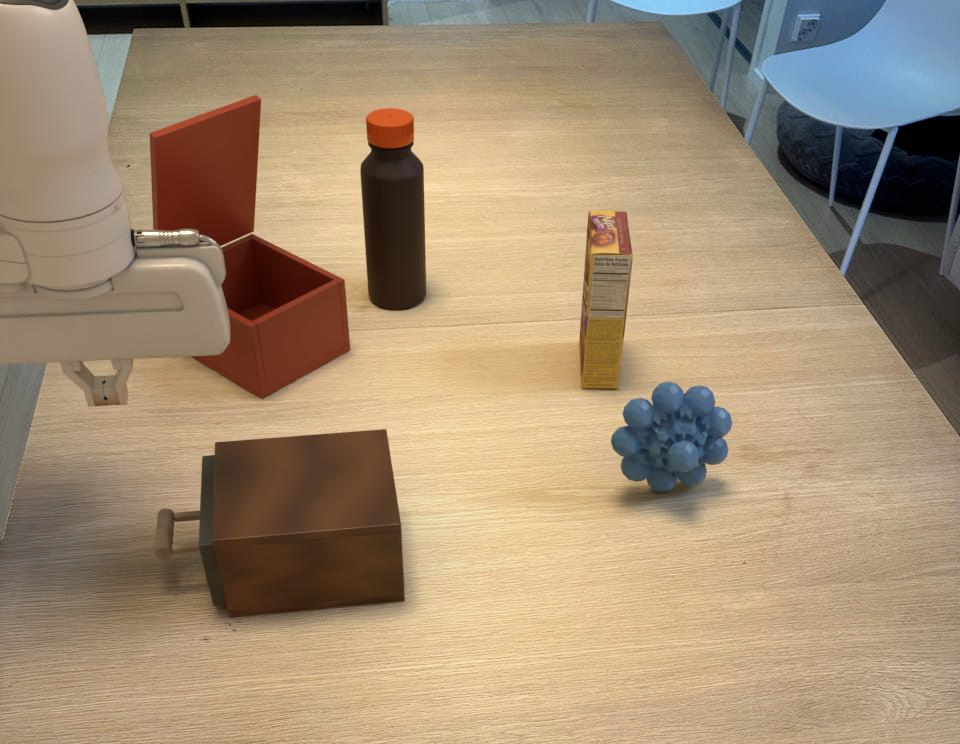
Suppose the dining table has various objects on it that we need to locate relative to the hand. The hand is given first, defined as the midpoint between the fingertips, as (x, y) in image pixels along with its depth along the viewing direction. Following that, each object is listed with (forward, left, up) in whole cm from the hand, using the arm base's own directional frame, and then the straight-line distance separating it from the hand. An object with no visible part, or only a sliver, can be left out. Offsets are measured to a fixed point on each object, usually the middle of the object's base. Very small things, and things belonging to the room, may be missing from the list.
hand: (108, 401), depth 83 cm
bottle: (-14, +45, -15) cm, 50 cm away
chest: (-17, +27, -15) cm, 35 cm away
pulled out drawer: (+10, +5, -14) cm, 18 cm away
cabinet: (+12, +8, -15) cm, 21 cm away
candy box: (+12, +49, -15) cm, 53 cm away
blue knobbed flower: (+30, +36, -15) cm, 50 cm away
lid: (-21, +27, +1) cm, 35 cm away
